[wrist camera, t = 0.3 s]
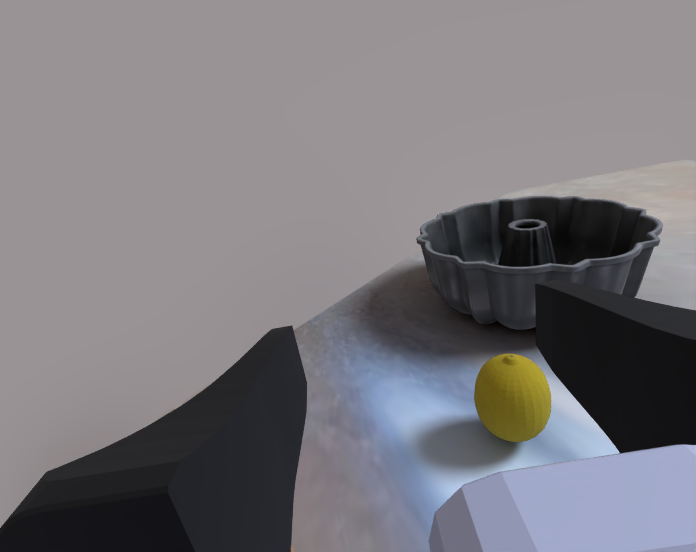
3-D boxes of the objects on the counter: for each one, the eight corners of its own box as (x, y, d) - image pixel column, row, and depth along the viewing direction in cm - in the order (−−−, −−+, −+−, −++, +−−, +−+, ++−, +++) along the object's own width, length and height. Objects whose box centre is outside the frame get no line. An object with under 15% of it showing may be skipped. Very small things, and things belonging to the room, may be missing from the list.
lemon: (564, 455, 31) (570, 370, 27) (494, 471, 30) (492, 387, 27) (526, 405, 36) (527, 329, 32) (465, 419, 35) (461, 343, 32)
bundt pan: (450, 253, 70) (447, 196, 65) (637, 258, 57) (646, 188, 53) (395, 338, 49) (385, 262, 45) (668, 375, 36) (688, 275, 32)
